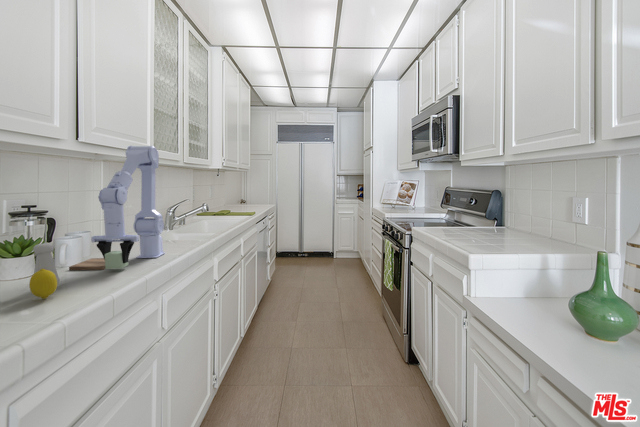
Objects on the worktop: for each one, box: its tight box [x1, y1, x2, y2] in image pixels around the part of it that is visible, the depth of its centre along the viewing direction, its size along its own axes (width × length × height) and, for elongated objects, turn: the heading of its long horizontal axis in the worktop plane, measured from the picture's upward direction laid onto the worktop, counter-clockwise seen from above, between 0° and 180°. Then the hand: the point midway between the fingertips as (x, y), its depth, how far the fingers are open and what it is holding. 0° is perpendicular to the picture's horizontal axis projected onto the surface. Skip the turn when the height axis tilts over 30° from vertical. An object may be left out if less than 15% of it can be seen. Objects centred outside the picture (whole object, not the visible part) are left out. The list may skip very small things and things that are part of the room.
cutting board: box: [68, 257, 106, 271], centre depth 122 cm, size 13×11×1 cm
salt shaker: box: [33, 242, 60, 286], centre depth 94 cm, size 6×6×13 cm
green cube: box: [104, 250, 129, 270], centre depth 115 cm, size 5×5×5 cm
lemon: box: [28, 269, 58, 300], centre depth 87 cm, size 6×6×8 cm
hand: (116, 262), depth 115 cm, fingers closed on green cube, 5 cm apart
